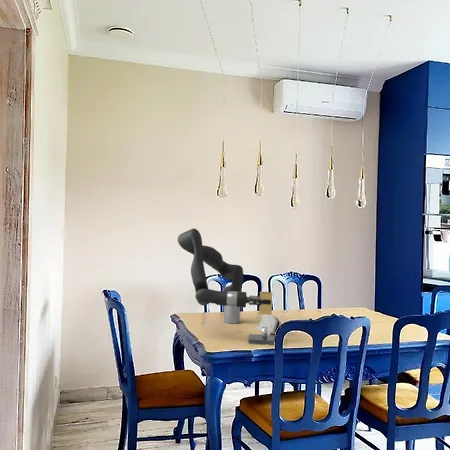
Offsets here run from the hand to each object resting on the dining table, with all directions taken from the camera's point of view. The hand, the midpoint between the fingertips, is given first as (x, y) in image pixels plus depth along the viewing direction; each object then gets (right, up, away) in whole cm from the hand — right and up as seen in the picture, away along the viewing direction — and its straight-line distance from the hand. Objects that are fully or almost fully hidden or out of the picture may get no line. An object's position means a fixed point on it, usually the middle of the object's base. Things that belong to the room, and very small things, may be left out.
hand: (270, 301), depth 231 cm
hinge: (+1, -20, +22) cm, 30 cm away
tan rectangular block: (-3, -6, 0) cm, 6 cm away
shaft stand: (-3, -20, 0) cm, 20 cm away
